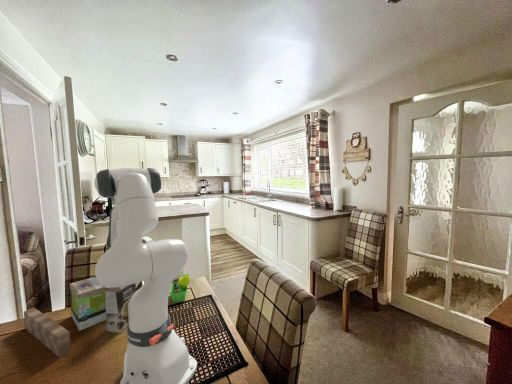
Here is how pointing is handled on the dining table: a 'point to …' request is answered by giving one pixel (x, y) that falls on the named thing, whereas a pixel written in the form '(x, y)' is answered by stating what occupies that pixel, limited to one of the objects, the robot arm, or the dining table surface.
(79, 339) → the dining table surface
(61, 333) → the grey-brown long bar
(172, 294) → the fruit basket
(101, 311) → the tea box
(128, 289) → the coffee box
